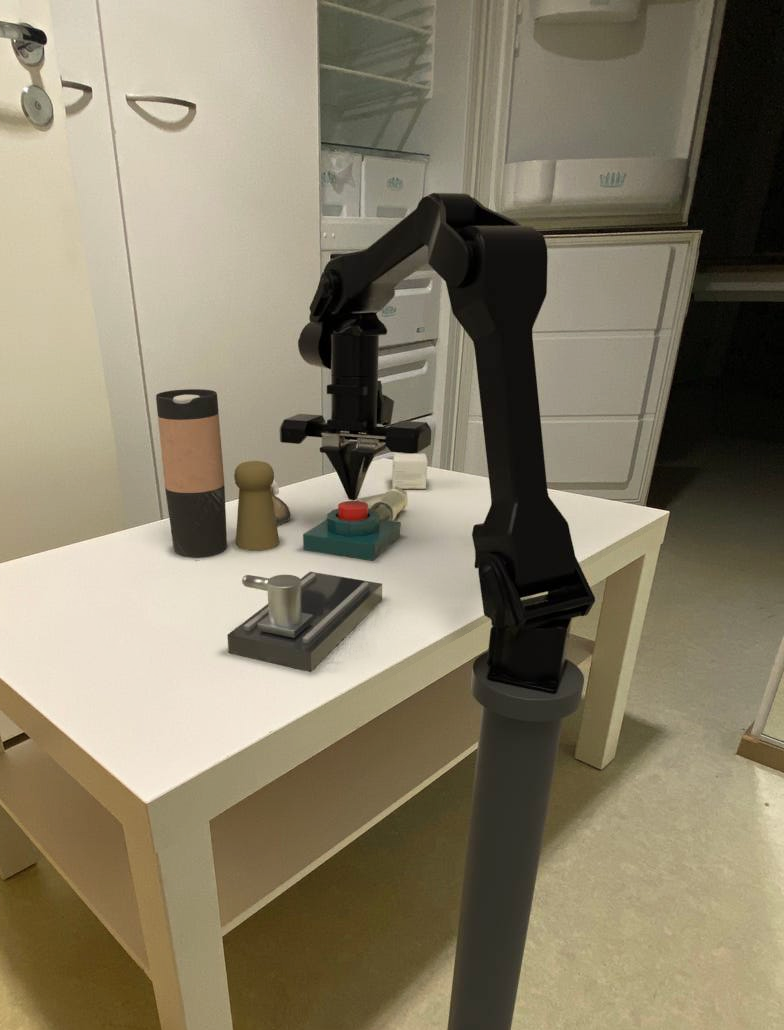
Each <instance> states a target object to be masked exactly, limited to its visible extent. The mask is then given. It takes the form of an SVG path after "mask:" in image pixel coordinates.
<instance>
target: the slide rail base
mask: <svg viewBox="0 0 784 1030" xmlns="http://www.w3.org/2000/svg"><path fill="white" fill-rule="evenodd" d="M300 579H301V604H302V613H306V614H311V615H313V622H312V623H311V624H310V625H309V626H307V627H306V628H305V629H304V630H303V631H302V632H301V633H300V634H298V635H297V636H296V637H295V638H291V637H286V636H281V635H277V634H272V633H267V632H263V631H258V623H259V622H260V621H261V620H263V619H264V618H265V617H266V616H268V615H269V609H268V603H266V604H265V605H264V606H263V607H262V608H261V609H259V610H258V611H257V612H255V613H254V614H252V615H251V616H250V617H248V618H247V619H246V620H244V621H243V622H241V624H239V625H238V626H236V628H234V629H233V630H231V631H230V632H229V633H228V634H227V635H226V637H227V649H228V653H229V654H232V655H236V656H237V655H238V656H242V657H247V658H249V659H250V658H251V659H254V660H258V661H263V662H267V663H271V664H276V665H281V666H286V667H289V668H294V669H298V670H303V671H307V672H312V671H314V669H315V668H316V667H317V666H318V665H319V664H320V663H321V662H323V660H324V659H325V658H326V657H327V656H329V654H330V653H331V652H332V651H333V650H334V649H335V648H336V647H337V646H338V645H339V644H340V643H341V642H342V641H343V640H344V639H345V638H346V637H347V636H348V635H349V634H350V633H351V631H353V630H354V629H355V628H356V627H357V625H359V624H360V622H362V620H363V619H365V618H366V616H368V614H370V613H371V611H373V609H375V607H377V605H379V603H380V602H381V601H382V600H383V583H382V582H376V581H375V582H374V581H368V580H362V579H356V578H350V577H344V576H339V575H333V574H327V573H321V572H315V571H309V572H307V573H305V574H304V576H302V577H301V578H300Z"/></svg>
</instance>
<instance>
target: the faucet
mask: <svg viewBox="0 0 784 1030" xmlns="http://www.w3.org/2000/svg"><path fill="white" fill-rule="evenodd" d="M241 583H242V585H243V587H246V588H250V589H255V590H260V591H266V592H267V604H268V609H269V615H268V616H266V617H265V618H264V619H263V620H261V621H260V622H259V623H258V631H263V632H267V633H272V634H277V635H281V636H286V637H291V638H295V637H296V636H297V635H298V634H300V633H301V632H302V631H303V630H304V629H305V628H306V627H307V626H309V625H310V624H311V623H312V622H313V615H311V614H306V613H302V604H301V578H300V577H299V576H296V575H293V574H277V575H273V576H271V577H269V578H268V577H263V576H259V575H258V576H257V575H251V574H245V575H244V576H243V577H242V579H241Z"/></svg>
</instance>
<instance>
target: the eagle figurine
mask: <svg viewBox="0 0 784 1030" xmlns="http://www.w3.org/2000/svg"><path fill="white" fill-rule="evenodd" d="M234 483H235V485H236V486H237V484H236V482H235V481H234ZM278 485H279V484H278V482H277V480H276V479H274V480H273V483H272V485H271V487H270V489H271V495H272V501H273V506H274V512H275V518H276V524H277V526H278V525H283V524H285V523H286V522H289V520H291V516H292V514H291V510H290V508H289V506H288V505H287V504H286V503H285V501H284V500H282V499H281V498H279V497H278V496H276V495H279V494H280V489H279V486H278ZM237 489H239V487H238V486H237Z"/></svg>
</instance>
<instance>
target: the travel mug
mask: <svg viewBox="0 0 784 1030" xmlns="http://www.w3.org/2000/svg"><path fill="white" fill-rule="evenodd" d="M155 400H156V401H155V402H156V412H157V420H158V433H159V441H160V450H161V461H162V471H163V481H164V490H165V497H166V505H167V511H168V518H169V526H170V532H171V533H170V534H171V539H172V540H171V541H172V545H173V551H174V553H175V554H177V555H178V556H182V557H187V558H207V557H212V556H215V555H219V554H222V553H223V552H224V551H226V550H227V547H228V541H227V539H228V537H227V515H226V514H227V512H226V511H227V510H226V487H225V474H224V473H225V472H224V462H223V461H224V460H223V450H222V435H221V426H220V413H219V411H220V410H219V402H218V401H219V400H218V393H217V391H215V390H211V389H201V388H189V389H188V388H187V389H185V388H183V389H174V390H166V391H162V392H159V393H157V394H156V395H155Z"/></svg>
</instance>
